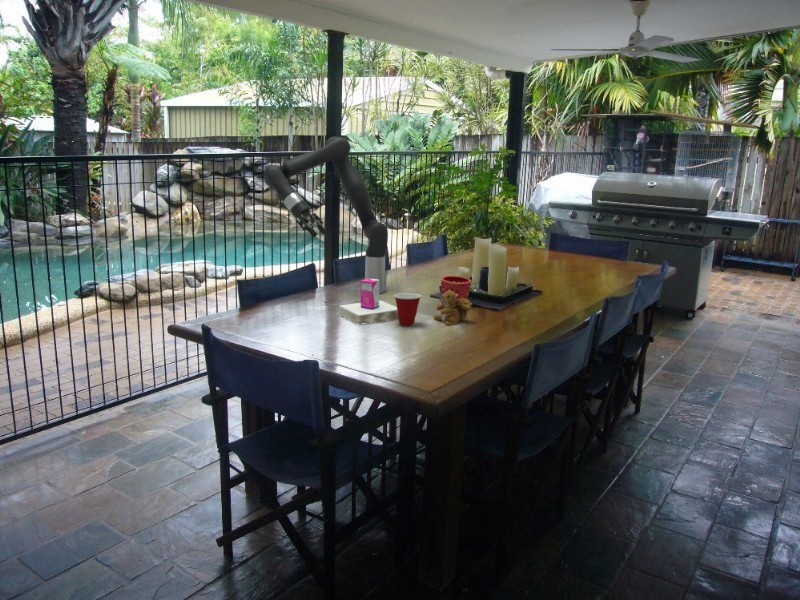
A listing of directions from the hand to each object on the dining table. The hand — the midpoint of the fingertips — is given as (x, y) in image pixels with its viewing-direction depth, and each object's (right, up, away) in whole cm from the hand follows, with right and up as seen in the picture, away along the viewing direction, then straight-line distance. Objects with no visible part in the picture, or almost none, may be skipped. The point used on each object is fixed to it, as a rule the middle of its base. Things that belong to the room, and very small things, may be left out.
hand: (320, 234), depth 275 cm
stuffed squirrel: (+55, -36, -9) cm, 66 cm away
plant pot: (+58, -30, +17) cm, 67 cm away
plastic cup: (+36, -37, -14) cm, 54 cm away
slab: (+21, -34, -7) cm, 41 cm away
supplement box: (+21, -31, -7) cm, 38 cm away
